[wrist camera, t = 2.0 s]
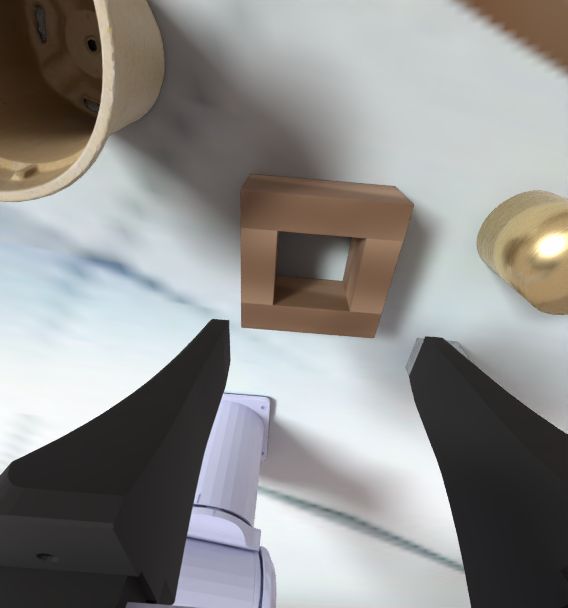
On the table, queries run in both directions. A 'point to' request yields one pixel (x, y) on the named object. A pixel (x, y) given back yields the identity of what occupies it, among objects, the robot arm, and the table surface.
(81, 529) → the robot arm
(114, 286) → the table surface
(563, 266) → the round bit
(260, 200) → the block
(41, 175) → the flower pot
